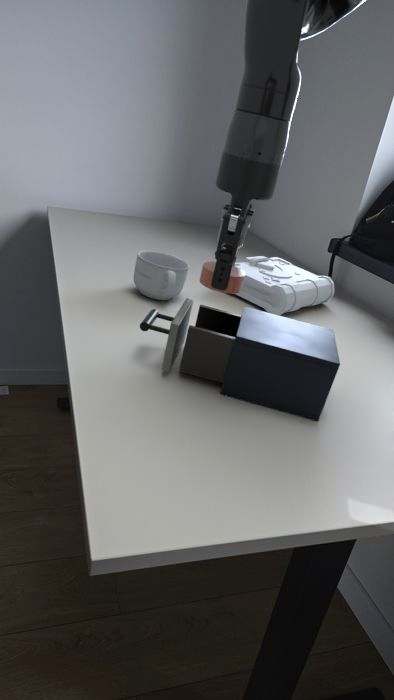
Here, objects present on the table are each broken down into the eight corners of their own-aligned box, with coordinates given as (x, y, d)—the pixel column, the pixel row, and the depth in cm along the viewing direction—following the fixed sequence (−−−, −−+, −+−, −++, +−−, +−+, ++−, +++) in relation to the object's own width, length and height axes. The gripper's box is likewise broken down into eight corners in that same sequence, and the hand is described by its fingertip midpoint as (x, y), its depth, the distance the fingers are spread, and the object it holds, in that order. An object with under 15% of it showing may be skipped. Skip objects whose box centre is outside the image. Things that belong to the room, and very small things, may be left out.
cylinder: (242, 284, 71) (247, 268, 70) (239, 297, 66) (243, 280, 65) (202, 274, 72) (206, 258, 71) (196, 286, 66) (199, 269, 65)
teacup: (131, 281, 107) (137, 245, 103) (180, 289, 109) (187, 254, 105) (130, 306, 94) (136, 266, 91) (185, 315, 96) (194, 276, 93)
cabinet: (220, 394, 72) (236, 336, 68) (230, 358, 83) (244, 306, 79) (318, 421, 71) (340, 364, 67) (314, 381, 82) (333, 329, 78)
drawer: (129, 361, 73) (137, 313, 70) (149, 332, 83) (157, 290, 80) (249, 394, 72) (264, 347, 69) (255, 361, 82) (267, 319, 79)
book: (339, 303, 124) (350, 275, 121) (279, 321, 104) (289, 287, 101) (277, 276, 135) (286, 249, 131) (212, 287, 115) (219, 255, 111)
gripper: (281, 166, 55) (243, 305, 62) (282, 158, 68) (251, 274, 75) (215, 150, 55) (186, 290, 62) (229, 146, 68) (203, 262, 75)
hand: (221, 280), depth 69 cm, fingers closed on cylinder, 6 cm apart
